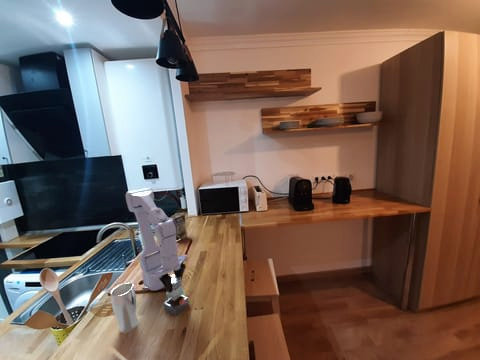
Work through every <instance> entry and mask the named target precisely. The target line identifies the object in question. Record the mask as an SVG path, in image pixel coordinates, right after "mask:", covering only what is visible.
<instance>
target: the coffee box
mask: <svg viewBox="0 0 480 360" xmlns="http://www.w3.org/2000/svg"><path fill="white" fill-rule="evenodd" d="M168 218H171V219H174V220H175V222H176V224H177V227H178V233H177V234H175V235H176V240H179V239H182V238H185V237H187V238H188V232H187V231H188V230H187V224H186V216H185V214H181V213H178V214H174V215H173V216H170V217H168ZM185 239H186V238H185Z"/></svg>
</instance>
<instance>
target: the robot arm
mask: <svg viewBox="0 0 480 360" xmlns="http://www.w3.org/2000/svg"><path fill="white" fill-rule="evenodd" d="M153 191H154V190H153V189H152V188H151V187H147V188H141V189H136V190H131V191H126V193H125V200H126V201H125V202H126V204H127V205H126V206H127V208H128V211H129V212H131V213H134V215H135V219H136V222H137V225H138V228H139V233H140V236H141V237H140V238H141V241H142V245H143V250H142V251H141V252H140V254H139V266H140V269H141V271H142V273H141V275H142V282H143V285H144V286H146V287H148V288H147V289H149V290H150V291H158V290H161V289H162V288H165V291H167V292H169V293H171V292H172V286H171V280H172V276H171V275H170V274H169V273H170V272H173V274H175V275H178V276H180V277H181V281H182V282H183V276H184V272H185V269H186V268H187V266H186V264H185V263H184V262H186V261H188V260H189V257H188V255H187V254H182V255H180V256H179V252H178V244H177V243H178V242H176V235H175V234H177V233H178V227H177V224H176V222H175V220H174V219H171V218H169V217H168V216H167V214H166V213H165V211H164V210H163V208H160V207H157V205H156V203H155V201H154V199H155V194H154V192H153ZM152 227H153V228H154V229H152ZM155 237H156V240H155ZM156 241H157V243H156ZM157 244H158V245H157ZM144 286H143V287H144ZM167 292H166V293H167Z"/></svg>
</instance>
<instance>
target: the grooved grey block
mask: <svg viewBox="0 0 480 360" xmlns="http://www.w3.org/2000/svg"><path fill="white" fill-rule="evenodd" d="M170 276H172V280H171V286H172V292H171V293H169V292H167V291H166V290H165V291H166V295H165V296H166V297H167V298H168V299H169V298H170V299H172V300H174V301H175V300H176V299H178V298H179V297H180V296H181V295H184V289H183V280H182V281H181V277H180V276H178V275H175V274H174V273H173V274H172V275H170Z"/></svg>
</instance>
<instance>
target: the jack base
mask: <svg viewBox="0 0 480 360" xmlns="http://www.w3.org/2000/svg"><path fill="white" fill-rule="evenodd" d="M176 302H178V304H177V305H176V306H174V304H175V303H176ZM188 306H190V302H189V297H188V296H186V295H184V294H182V295H181V296H180V297H179V298H178V299H176V300H175V301H174V300H172V299H170V298H168V299H167V300H166V301H164V302H163V307H164V311H165V312H167V313H169V314H171V315H172V316H174V317H177V316H178V315H179V314H181V313H182V312H183V311H184V309H186V308H187V307H188Z"/></svg>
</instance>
